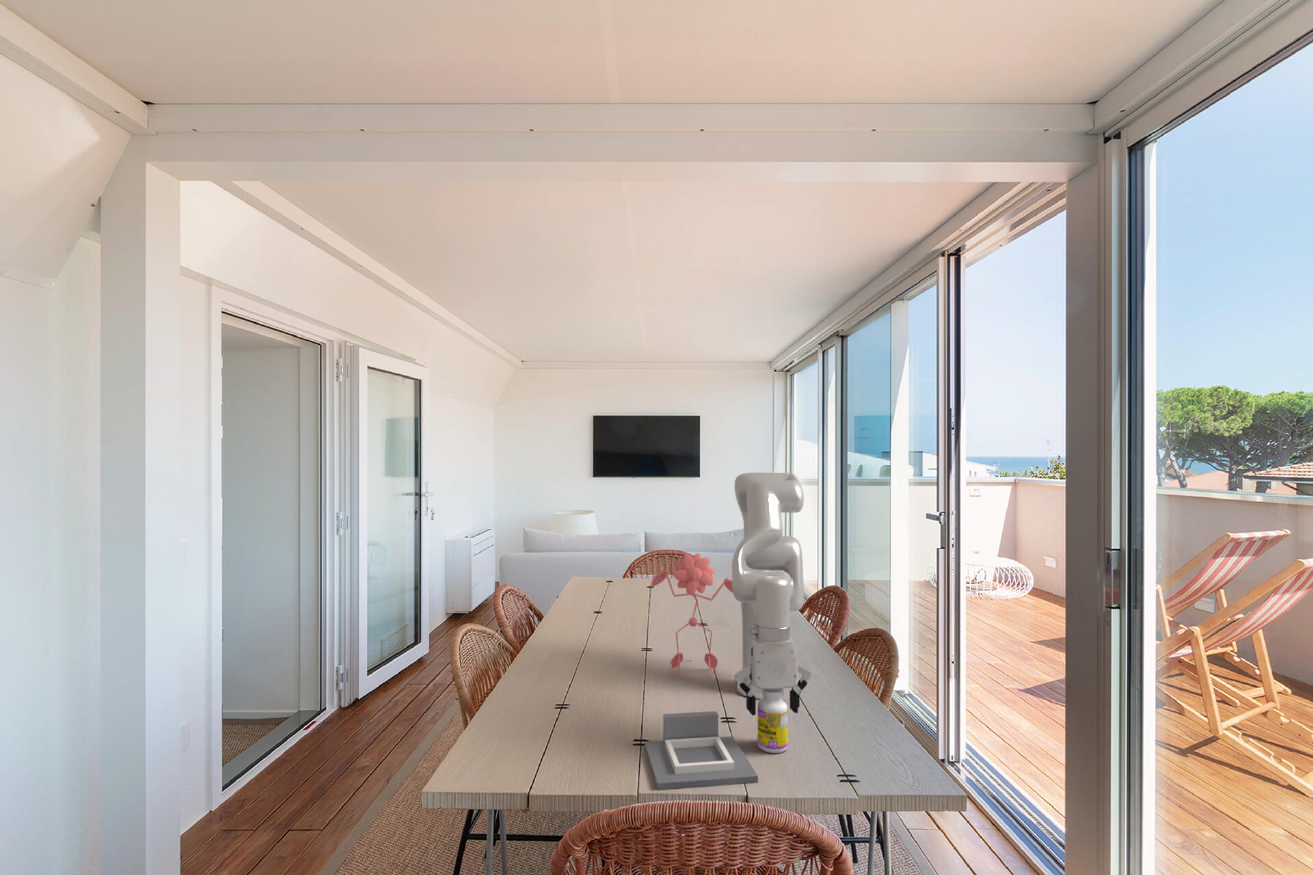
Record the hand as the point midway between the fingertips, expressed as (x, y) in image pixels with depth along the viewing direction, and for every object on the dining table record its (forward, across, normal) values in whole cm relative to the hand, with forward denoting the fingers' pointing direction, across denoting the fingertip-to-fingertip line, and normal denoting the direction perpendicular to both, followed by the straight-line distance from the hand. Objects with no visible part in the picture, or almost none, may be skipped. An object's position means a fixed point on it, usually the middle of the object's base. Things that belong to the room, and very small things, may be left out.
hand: (772, 711), depth 138 cm
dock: (+8, -18, -4) cm, 20 cm away
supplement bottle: (+8, 0, +1) cm, 8 cm away
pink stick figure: (+7, -6, +55) cm, 56 cm away
